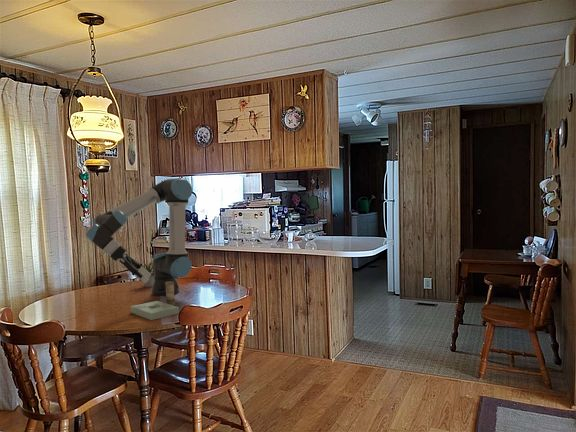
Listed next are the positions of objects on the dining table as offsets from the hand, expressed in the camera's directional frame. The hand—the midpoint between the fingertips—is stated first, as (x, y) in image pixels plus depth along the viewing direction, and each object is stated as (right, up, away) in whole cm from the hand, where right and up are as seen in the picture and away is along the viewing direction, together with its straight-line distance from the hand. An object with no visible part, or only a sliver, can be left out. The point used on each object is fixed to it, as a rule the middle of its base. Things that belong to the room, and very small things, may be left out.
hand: (148, 279), depth 219 cm
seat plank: (+6, -15, -10) cm, 19 cm away
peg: (+10, -14, +3) cm, 18 cm away
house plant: (-17, -12, +57) cm, 61 cm away
